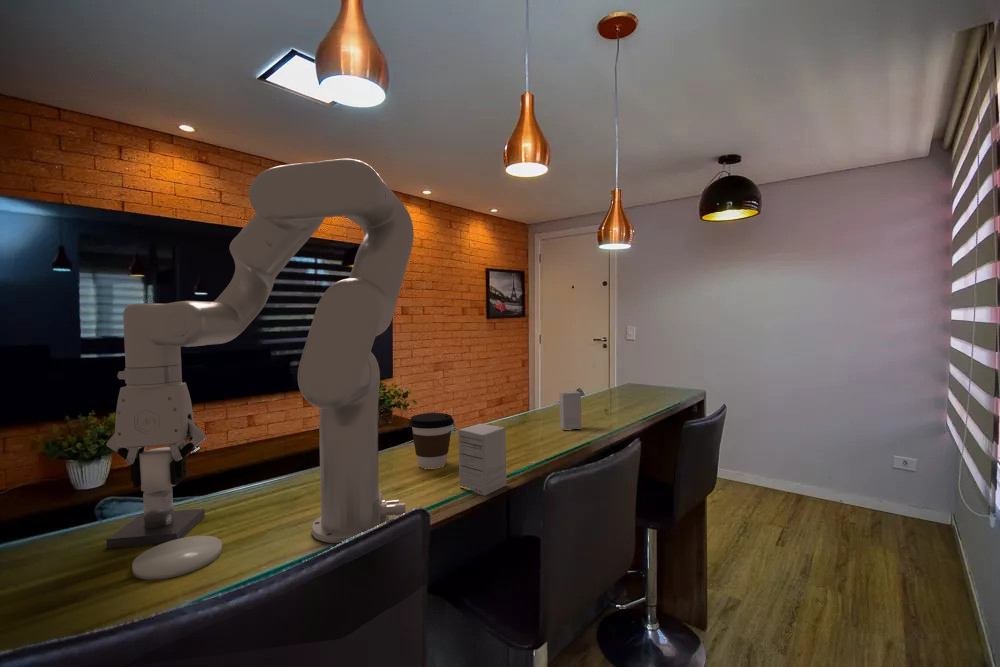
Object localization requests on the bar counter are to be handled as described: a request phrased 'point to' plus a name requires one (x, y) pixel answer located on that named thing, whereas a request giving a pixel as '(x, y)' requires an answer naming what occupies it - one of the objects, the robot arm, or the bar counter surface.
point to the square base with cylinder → (156, 522)
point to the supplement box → (482, 458)
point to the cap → (155, 469)
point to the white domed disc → (176, 557)
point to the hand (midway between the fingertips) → (159, 482)
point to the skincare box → (570, 410)
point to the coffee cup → (431, 438)
